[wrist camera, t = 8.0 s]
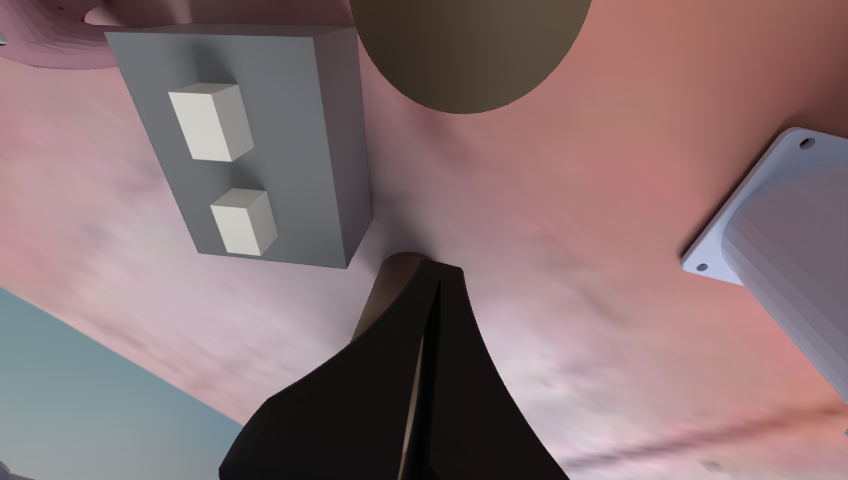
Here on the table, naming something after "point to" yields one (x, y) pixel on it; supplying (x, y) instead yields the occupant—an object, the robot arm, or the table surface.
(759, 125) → the table surface
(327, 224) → the block
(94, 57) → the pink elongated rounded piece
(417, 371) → the walnut post
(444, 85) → the walnut post
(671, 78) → the table surface
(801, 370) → the table surface
